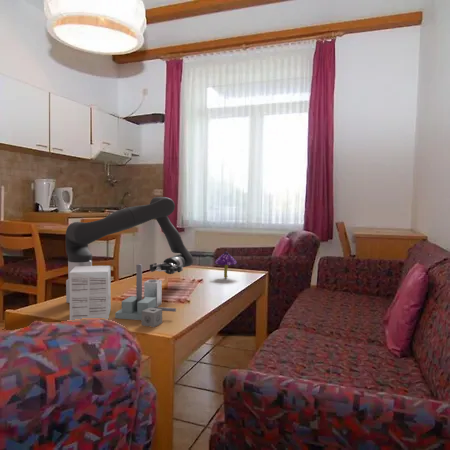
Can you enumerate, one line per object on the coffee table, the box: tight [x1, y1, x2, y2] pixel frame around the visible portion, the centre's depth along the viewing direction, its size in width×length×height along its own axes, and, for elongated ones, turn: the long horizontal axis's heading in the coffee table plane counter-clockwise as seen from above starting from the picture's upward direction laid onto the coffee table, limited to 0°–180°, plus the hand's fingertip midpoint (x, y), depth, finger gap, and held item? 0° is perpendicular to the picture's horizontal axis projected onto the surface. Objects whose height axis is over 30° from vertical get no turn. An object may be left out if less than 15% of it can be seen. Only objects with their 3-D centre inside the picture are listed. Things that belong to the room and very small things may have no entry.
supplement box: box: [69, 265, 112, 321], centre depth 137 cm, size 13×13×18 cm
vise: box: [114, 263, 177, 321], centre depth 138 cm, size 21×10×19 cm, turn 80°
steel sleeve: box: [143, 279, 163, 307], centre depth 152 cm, size 5×5×10 cm
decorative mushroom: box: [214, 251, 238, 279], centre depth 211 cm, size 12×12×15 cm
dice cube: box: [141, 307, 163, 328], centre depth 129 cm, size 5×5×5 cm
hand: (161, 270), depth 163 cm, fingers open, 8 cm apart
